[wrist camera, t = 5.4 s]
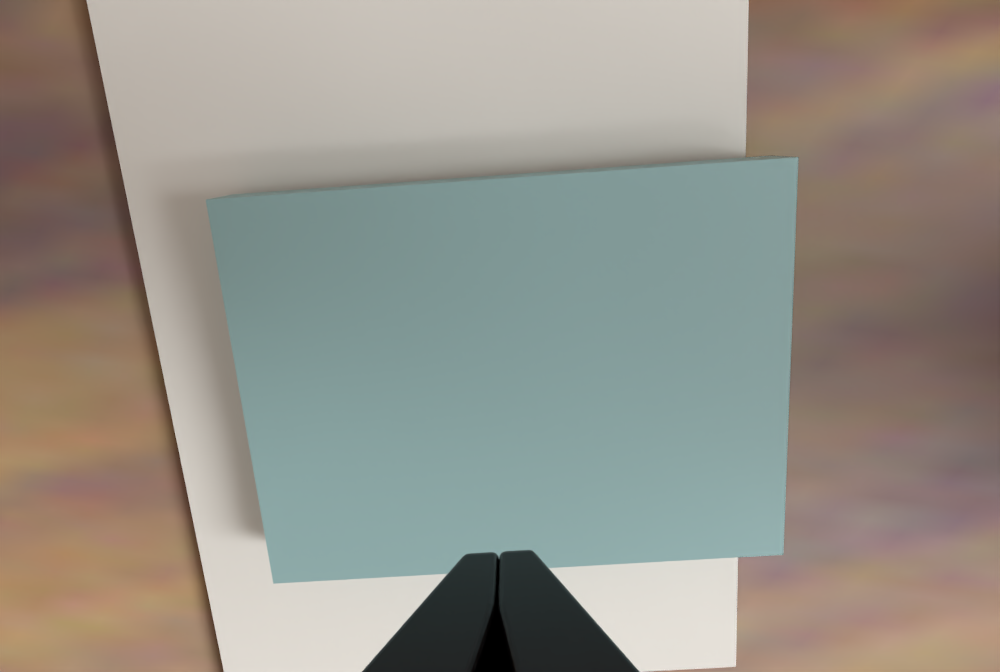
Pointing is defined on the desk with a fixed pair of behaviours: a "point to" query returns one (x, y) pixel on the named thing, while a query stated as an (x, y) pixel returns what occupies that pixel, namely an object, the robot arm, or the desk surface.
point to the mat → (376, 160)
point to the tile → (515, 365)
